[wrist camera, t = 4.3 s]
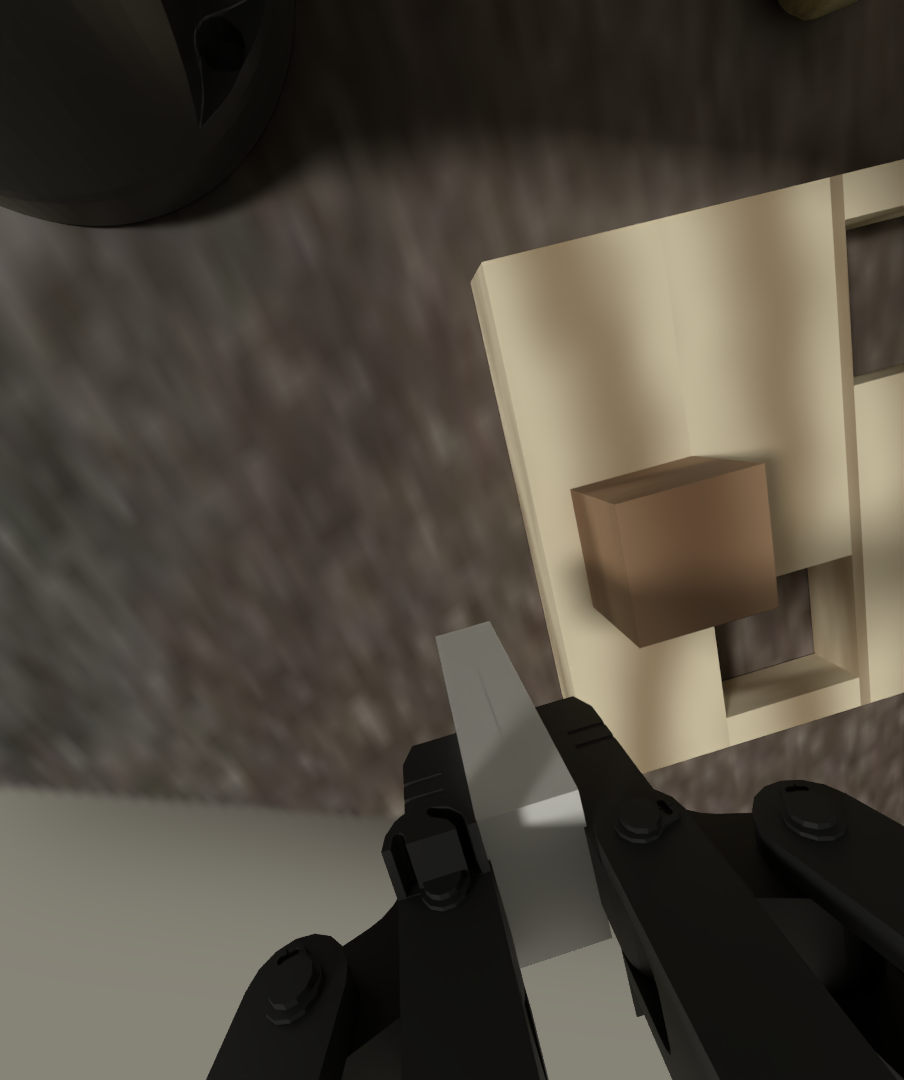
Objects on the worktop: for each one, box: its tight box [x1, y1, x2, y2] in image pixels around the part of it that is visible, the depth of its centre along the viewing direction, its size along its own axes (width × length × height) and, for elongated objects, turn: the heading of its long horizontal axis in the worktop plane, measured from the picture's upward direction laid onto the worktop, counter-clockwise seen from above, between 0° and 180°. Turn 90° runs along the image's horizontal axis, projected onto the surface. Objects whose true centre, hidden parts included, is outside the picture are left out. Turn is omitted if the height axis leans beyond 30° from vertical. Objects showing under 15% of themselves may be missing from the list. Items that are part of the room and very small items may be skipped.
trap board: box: [471, 159, 904, 774], centre depth 21 cm, size 28×22×5 cm
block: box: [570, 456, 779, 648], centre depth 18 cm, size 5×5×4 cm
